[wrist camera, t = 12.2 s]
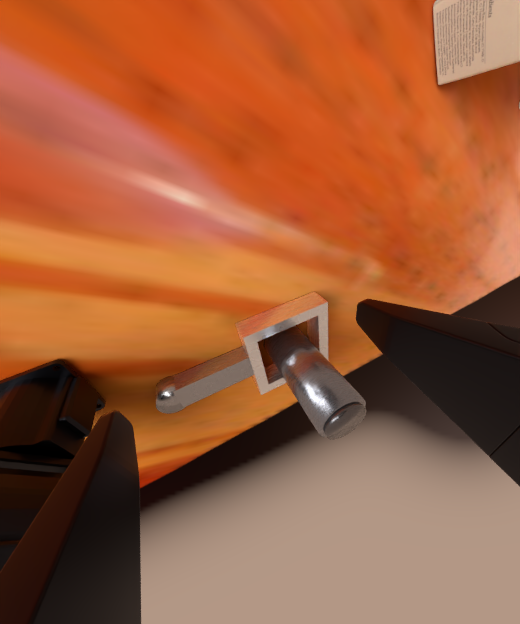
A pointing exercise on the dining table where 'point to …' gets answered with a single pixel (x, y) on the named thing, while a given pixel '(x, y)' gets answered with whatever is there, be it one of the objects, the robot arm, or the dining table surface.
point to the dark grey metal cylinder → (316, 384)
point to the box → (475, 37)
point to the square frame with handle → (246, 355)
